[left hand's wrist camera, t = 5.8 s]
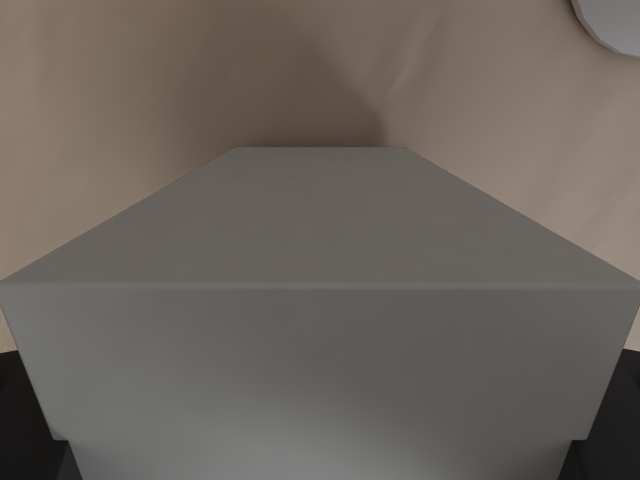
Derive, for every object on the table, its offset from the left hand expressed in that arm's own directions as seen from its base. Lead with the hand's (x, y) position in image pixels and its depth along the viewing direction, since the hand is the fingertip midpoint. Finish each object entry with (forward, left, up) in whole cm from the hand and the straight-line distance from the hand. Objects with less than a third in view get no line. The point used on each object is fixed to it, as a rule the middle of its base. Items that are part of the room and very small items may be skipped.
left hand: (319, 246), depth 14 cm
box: (+9, +5, -2) cm, 11 cm away
